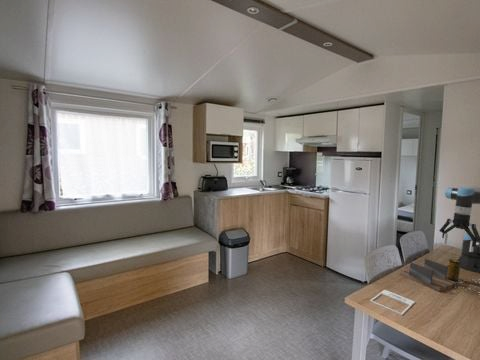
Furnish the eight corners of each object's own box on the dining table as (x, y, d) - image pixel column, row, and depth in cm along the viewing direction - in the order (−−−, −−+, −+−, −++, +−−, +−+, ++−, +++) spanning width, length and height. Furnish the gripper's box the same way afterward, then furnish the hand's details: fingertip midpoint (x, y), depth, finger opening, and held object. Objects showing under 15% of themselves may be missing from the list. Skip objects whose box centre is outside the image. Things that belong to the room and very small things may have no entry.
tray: (416, 270, 175) (418, 255, 174) (455, 285, 156) (458, 269, 155) (399, 274, 167) (401, 259, 166) (439, 292, 148) (441, 274, 147)
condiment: (451, 276, 169) (453, 258, 168) (464, 282, 161) (467, 263, 159) (441, 276, 167) (444, 258, 166) (455, 283, 159) (457, 264, 158)
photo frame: (414, 301, 135) (402, 314, 124) (414, 303, 136) (401, 316, 124) (384, 289, 146) (370, 299, 135) (384, 291, 147) (369, 302, 135)
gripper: (435, 209, 169) (431, 241, 171) (485, 219, 147) (480, 256, 149) (442, 208, 172) (437, 240, 174) (492, 218, 150) (486, 254, 152)
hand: (457, 247), depth 162 cm, fingers open, 13 cm apart
